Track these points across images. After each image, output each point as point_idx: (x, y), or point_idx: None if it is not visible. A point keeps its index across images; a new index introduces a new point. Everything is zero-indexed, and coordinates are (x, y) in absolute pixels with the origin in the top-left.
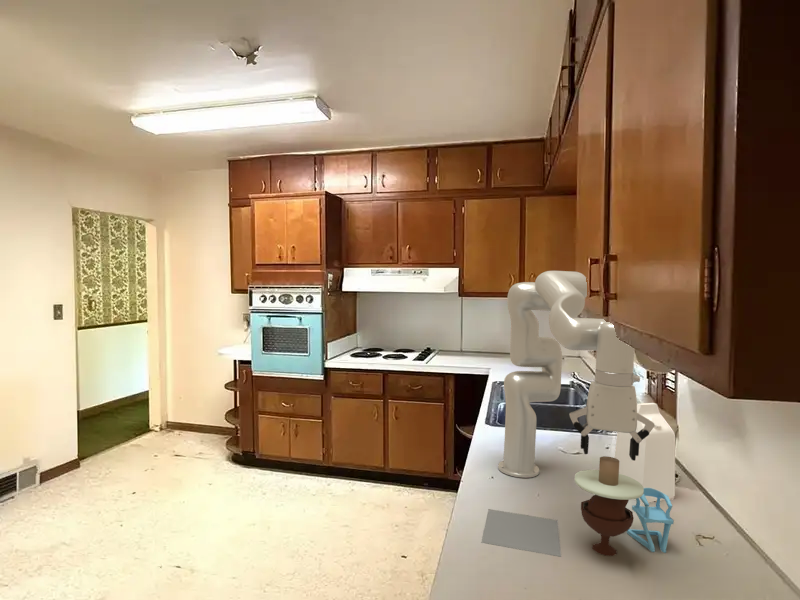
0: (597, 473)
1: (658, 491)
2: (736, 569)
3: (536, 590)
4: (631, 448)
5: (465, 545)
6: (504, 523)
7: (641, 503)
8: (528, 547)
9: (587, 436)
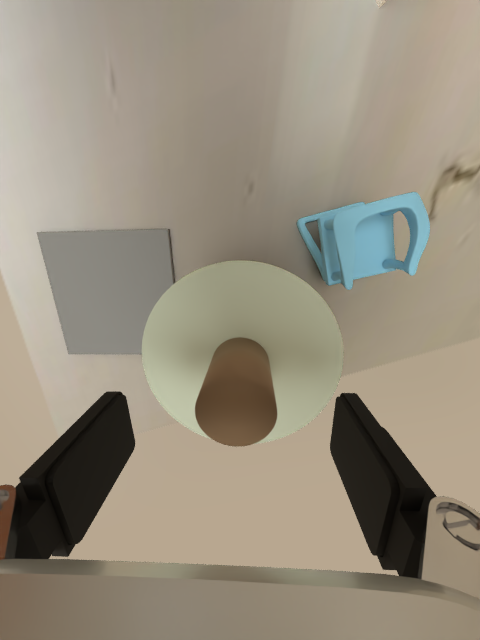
0: (212, 303)
1: (411, 211)
2: (449, 290)
3: (158, 423)
4: (354, 479)
5: (53, 360)
6: (81, 282)
7: (379, 6)
8: (133, 346)
9: (62, 548)
